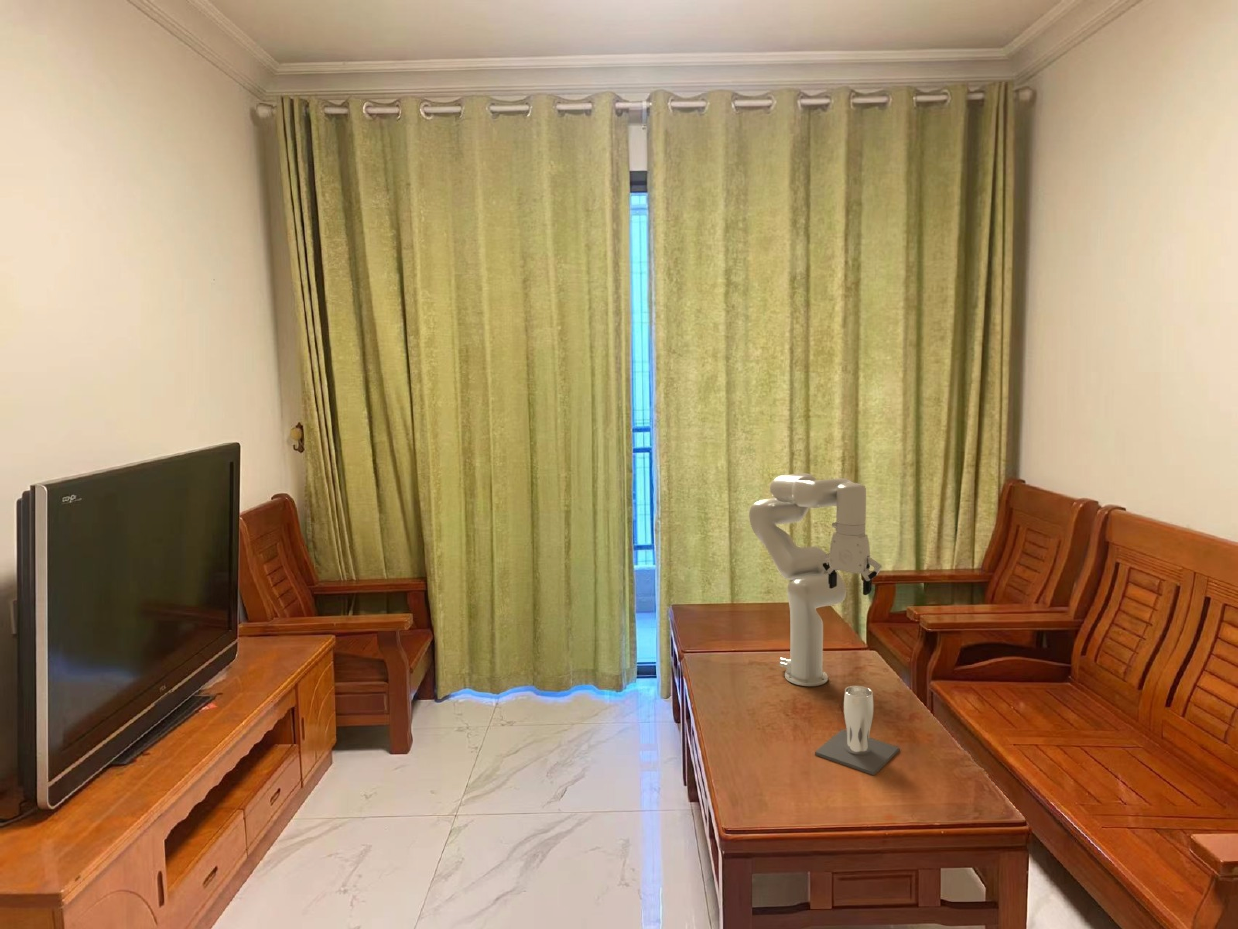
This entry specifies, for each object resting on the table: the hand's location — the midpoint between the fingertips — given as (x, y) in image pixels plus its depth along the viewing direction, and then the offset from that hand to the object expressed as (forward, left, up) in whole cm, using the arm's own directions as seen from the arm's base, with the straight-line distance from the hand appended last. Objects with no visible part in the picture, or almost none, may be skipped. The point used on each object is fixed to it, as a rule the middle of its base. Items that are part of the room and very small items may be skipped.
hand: (849, 590), depth 211 cm
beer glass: (+13, -22, -33) cm, 41 cm away
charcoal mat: (+13, -22, -33) cm, 42 cm away
